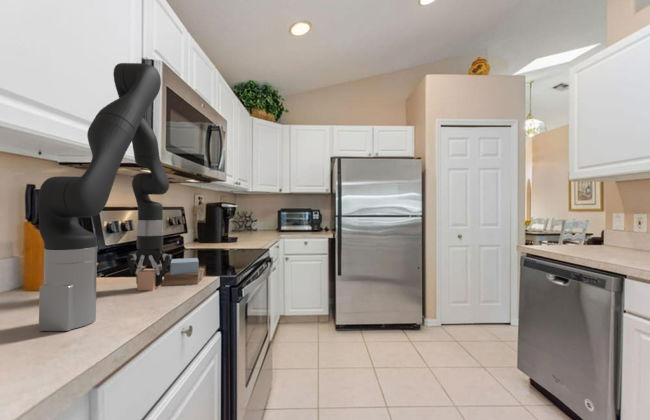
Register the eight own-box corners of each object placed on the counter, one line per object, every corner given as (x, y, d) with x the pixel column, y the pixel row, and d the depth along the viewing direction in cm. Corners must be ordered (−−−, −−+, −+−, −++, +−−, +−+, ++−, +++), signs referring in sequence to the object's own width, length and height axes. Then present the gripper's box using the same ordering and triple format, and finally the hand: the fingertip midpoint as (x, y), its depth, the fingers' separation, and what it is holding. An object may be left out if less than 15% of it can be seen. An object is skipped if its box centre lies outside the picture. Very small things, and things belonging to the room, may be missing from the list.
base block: (197, 285, 107) (198, 274, 107) (163, 286, 105) (163, 274, 105) (203, 278, 118) (204, 268, 118) (173, 279, 116) (173, 268, 116)
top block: (198, 272, 109) (198, 261, 109) (170, 274, 105) (170, 263, 105) (197, 268, 117) (197, 257, 117) (170, 269, 113) (171, 259, 113)
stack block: (153, 290, 98) (153, 271, 98) (137, 290, 98) (137, 271, 98) (160, 286, 103) (161, 268, 103) (145, 286, 103) (146, 268, 103)
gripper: (120, 234, 96) (119, 288, 96) (166, 235, 97) (166, 289, 97) (134, 232, 104) (133, 282, 104) (177, 233, 104) (176, 283, 104)
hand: (149, 285), depth 100 cm, fingers closed on stack block, 5 cm apart
